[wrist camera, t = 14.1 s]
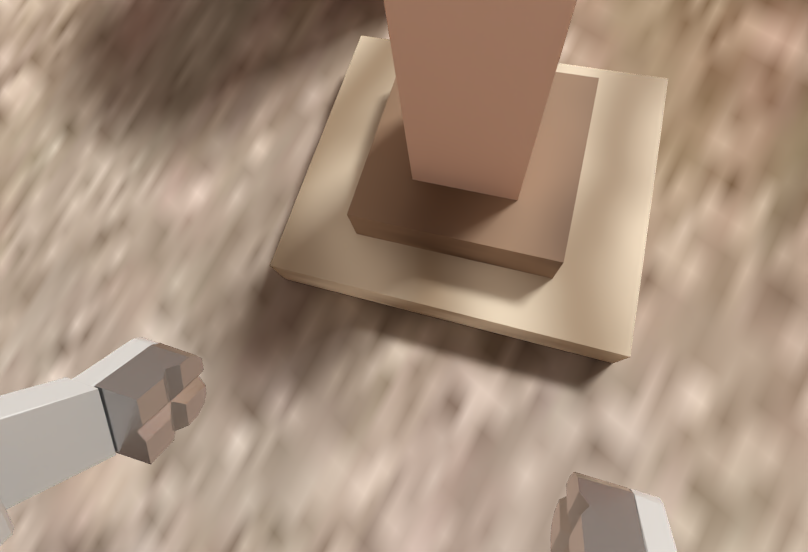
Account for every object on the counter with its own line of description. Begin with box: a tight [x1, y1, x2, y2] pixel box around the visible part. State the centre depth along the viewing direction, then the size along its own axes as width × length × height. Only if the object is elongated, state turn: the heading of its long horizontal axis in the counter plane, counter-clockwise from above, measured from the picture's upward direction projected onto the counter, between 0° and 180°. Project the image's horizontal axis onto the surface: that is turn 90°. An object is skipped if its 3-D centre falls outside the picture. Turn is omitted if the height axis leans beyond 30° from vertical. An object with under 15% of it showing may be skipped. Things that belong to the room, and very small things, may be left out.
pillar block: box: [384, 0, 577, 200], centre depth 15 cm, size 4×4×9 cm
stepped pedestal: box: [270, 36, 668, 363], centre depth 21 cm, size 16×14×4 cm
